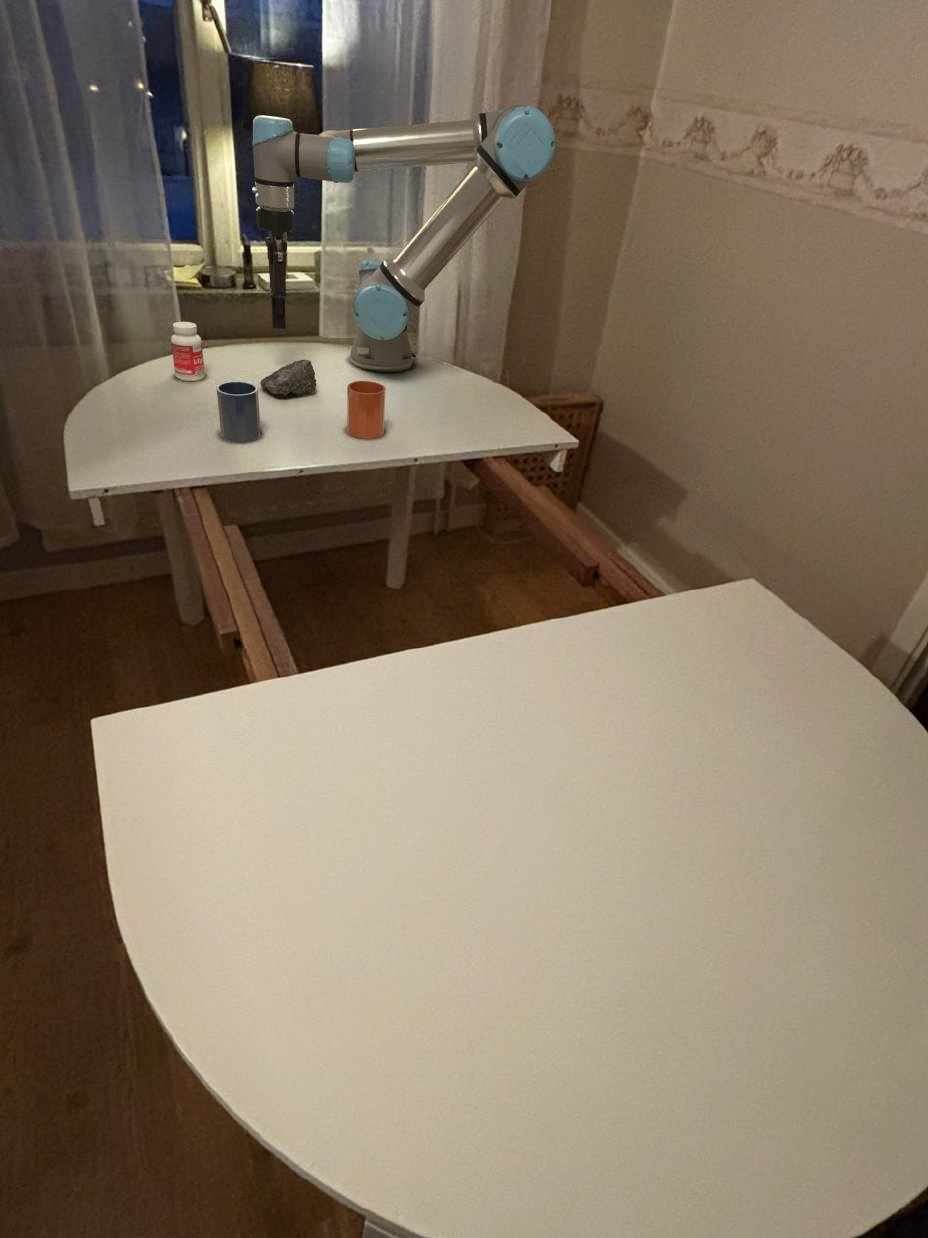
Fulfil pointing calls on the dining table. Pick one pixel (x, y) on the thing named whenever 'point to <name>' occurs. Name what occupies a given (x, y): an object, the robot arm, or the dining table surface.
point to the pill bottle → (187, 352)
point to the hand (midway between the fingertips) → (279, 327)
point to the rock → (291, 379)
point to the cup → (238, 411)
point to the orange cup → (365, 409)
